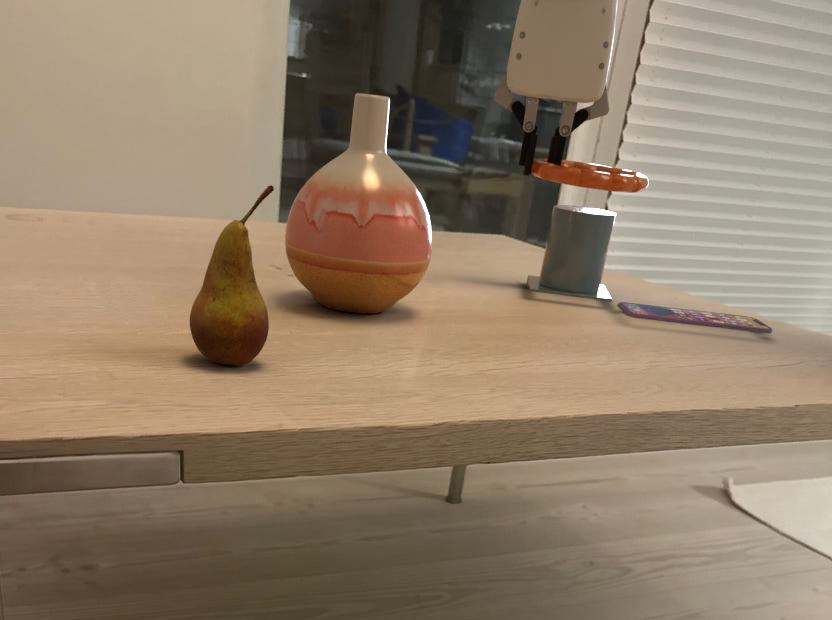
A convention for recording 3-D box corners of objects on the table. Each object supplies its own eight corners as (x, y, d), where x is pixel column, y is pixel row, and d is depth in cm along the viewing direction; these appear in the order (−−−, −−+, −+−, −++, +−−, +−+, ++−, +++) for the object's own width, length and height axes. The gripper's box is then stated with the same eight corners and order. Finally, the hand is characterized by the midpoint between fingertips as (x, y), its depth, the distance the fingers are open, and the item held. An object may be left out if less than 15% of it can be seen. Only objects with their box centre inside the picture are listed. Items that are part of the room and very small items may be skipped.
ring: (636, 186, 104) (640, 170, 103) (652, 198, 94) (657, 180, 93) (527, 170, 105) (530, 154, 104) (531, 180, 94) (535, 162, 93)
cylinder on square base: (602, 293, 109) (621, 210, 104) (610, 308, 101) (631, 219, 96) (526, 283, 109) (541, 200, 105) (528, 298, 102) (545, 209, 97)
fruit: (219, 347, 71) (223, 174, 65) (281, 364, 69) (291, 186, 63) (172, 360, 67) (171, 176, 61) (235, 378, 64) (242, 189, 58)
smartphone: (613, 309, 101) (750, 325, 100) (627, 322, 94) (773, 339, 94) (615, 301, 100) (753, 316, 100) (629, 313, 94) (776, 330, 94)
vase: (261, 308, 84) (271, 84, 75) (306, 284, 96) (320, 87, 86) (406, 332, 82) (434, 103, 73) (435, 305, 93) (463, 104, 84)
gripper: (651, -20, 93) (606, 182, 102) (496, -38, 94) (466, 164, 103) (663, -29, 86) (614, 188, 96) (496, -47, 87) (464, 169, 97)
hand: (537, 174), depth 100 cm, fingers closed on ring, 1 cm apart
